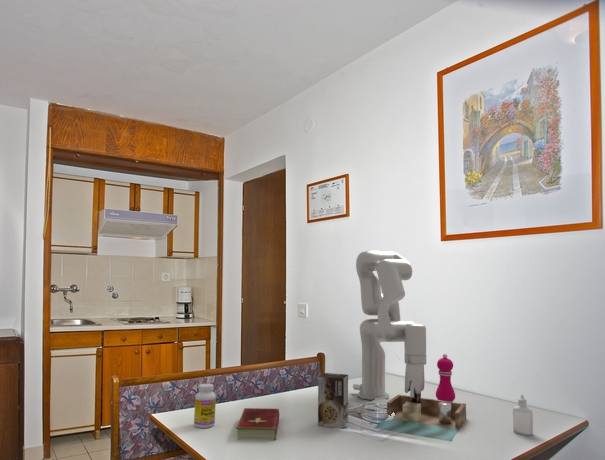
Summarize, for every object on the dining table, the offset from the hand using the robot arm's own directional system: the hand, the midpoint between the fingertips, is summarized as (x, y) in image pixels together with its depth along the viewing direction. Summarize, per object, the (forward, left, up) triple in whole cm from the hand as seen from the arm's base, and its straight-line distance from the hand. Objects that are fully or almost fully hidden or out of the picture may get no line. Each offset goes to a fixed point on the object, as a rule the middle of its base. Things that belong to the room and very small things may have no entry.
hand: (415, 412), depth 165 cm
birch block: (0, -5, -1) cm, 5 cm away
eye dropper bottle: (+34, +3, -2) cm, 34 cm away
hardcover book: (-41, -37, -3) cm, 55 cm away
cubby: (+4, -7, -2) cm, 8 cm away
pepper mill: (+6, +21, -2) cm, 22 cm away
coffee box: (-22, -21, -2) cm, 31 cm away
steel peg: (+10, -2, -1) cm, 11 cm away
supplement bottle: (-58, -44, -2) cm, 72 cm away
